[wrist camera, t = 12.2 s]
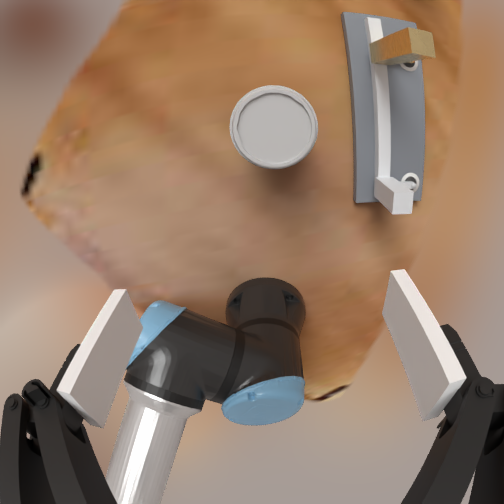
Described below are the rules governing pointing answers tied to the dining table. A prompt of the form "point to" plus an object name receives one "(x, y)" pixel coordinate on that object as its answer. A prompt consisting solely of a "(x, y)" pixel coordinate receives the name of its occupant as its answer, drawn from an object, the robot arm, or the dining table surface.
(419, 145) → the gauge plate
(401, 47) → the gold pointer slider
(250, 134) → the disposable coffee cup
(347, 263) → the dining table surface
